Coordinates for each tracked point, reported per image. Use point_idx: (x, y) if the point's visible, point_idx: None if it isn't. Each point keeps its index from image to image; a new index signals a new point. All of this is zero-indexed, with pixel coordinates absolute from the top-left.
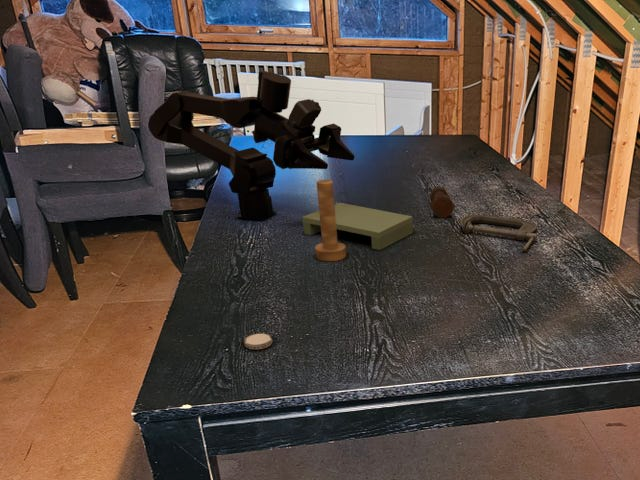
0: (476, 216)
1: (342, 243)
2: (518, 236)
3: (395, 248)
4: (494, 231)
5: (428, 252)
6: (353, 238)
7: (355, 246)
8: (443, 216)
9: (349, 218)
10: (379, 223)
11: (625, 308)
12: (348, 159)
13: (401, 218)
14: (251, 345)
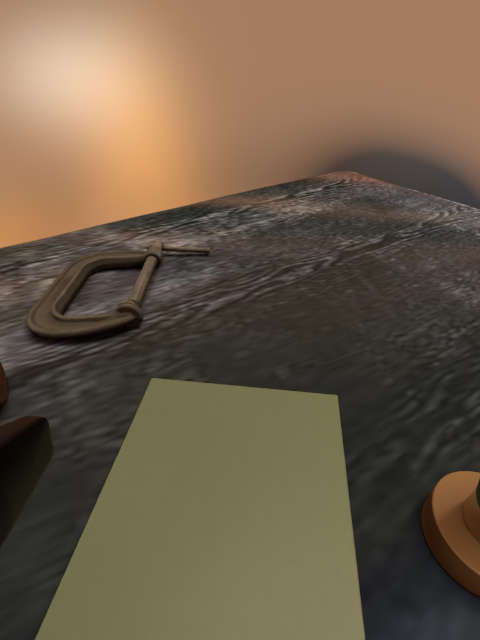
0: (57, 312)
1: (434, 499)
2: (161, 257)
3: None
4: (148, 278)
5: (277, 342)
6: None
7: None
8: (6, 389)
9: (257, 573)
10: (259, 428)
11: (319, 196)
12: (23, 503)
13: (181, 395)
14: None
